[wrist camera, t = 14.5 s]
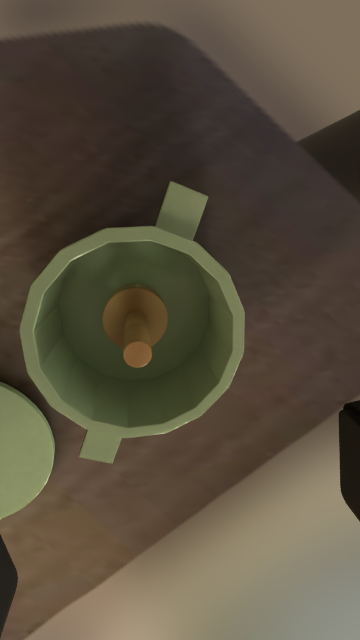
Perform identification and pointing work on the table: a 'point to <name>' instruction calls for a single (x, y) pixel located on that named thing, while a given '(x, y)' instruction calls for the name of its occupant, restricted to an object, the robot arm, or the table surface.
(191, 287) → the pot
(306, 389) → the table surface
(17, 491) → the pot lid
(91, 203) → the table surface
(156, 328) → the disc with rod handle
